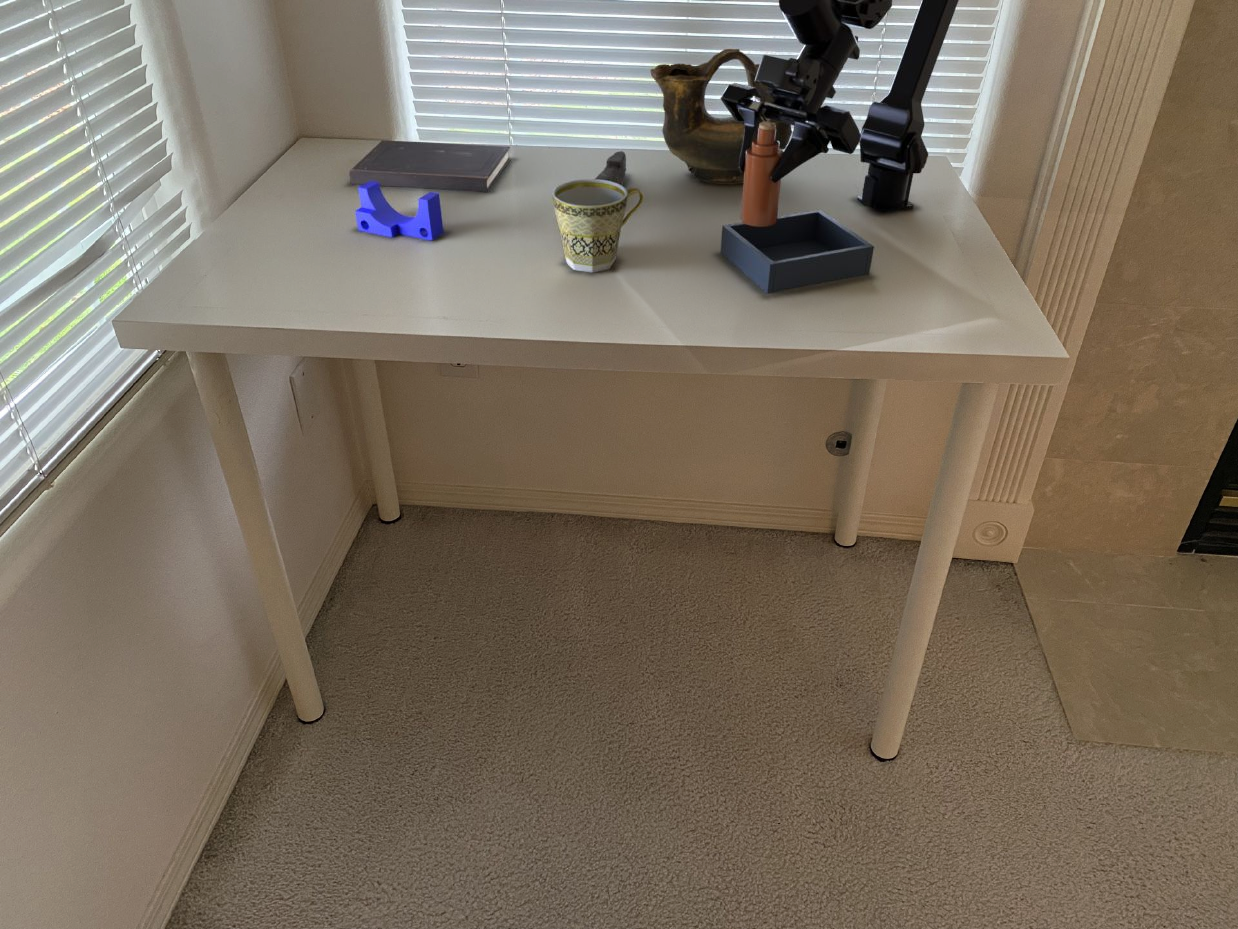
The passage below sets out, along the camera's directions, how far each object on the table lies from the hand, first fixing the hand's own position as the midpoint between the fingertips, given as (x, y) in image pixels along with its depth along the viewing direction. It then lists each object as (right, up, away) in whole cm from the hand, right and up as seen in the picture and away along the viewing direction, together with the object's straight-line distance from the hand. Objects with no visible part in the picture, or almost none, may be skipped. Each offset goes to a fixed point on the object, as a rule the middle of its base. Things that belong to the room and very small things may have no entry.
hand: (756, 175), depth 119 cm
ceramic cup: (-20, -9, +11) cm, 25 cm away
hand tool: (-20, +6, +31) cm, 37 cm away
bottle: (+1, -4, +5) cm, 6 cm away
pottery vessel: (0, +12, +38) cm, 40 cm away
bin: (+6, -10, +10) cm, 15 cm away
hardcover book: (-49, +12, +39) cm, 64 cm away
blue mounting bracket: (-50, -3, +19) cm, 53 cm away
